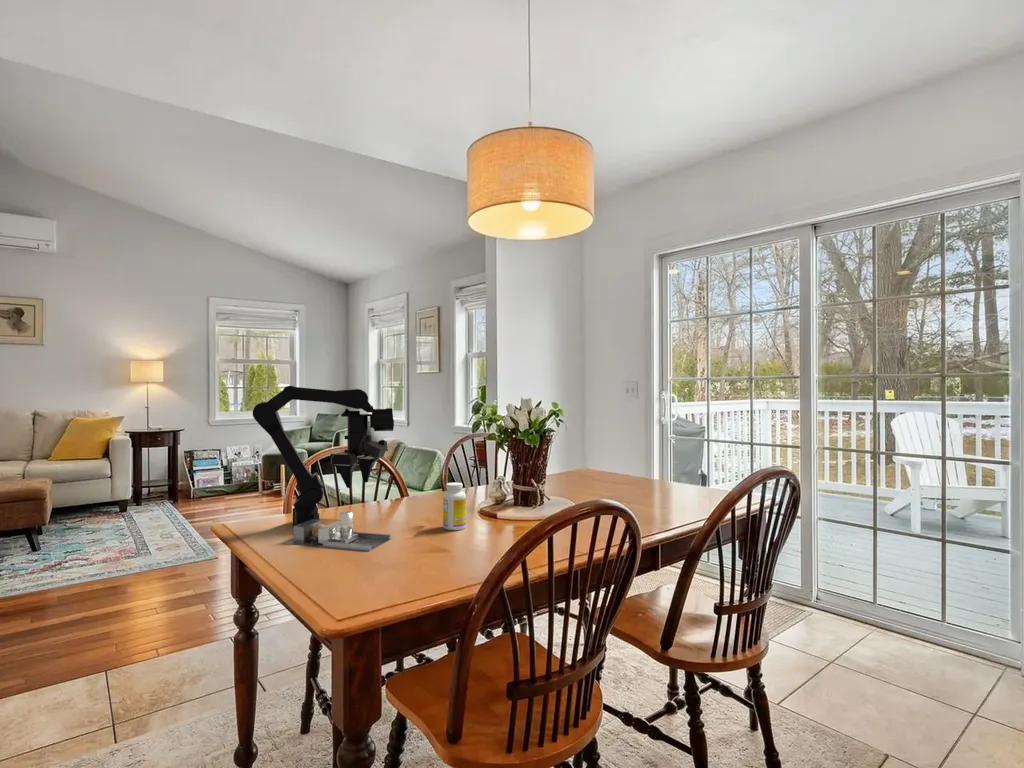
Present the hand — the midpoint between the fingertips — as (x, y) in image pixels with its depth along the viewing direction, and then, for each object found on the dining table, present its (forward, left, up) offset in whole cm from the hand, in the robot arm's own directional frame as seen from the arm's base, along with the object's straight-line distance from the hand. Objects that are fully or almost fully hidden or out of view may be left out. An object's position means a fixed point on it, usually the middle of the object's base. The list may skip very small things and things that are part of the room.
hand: (357, 485), depth 168 cm
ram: (+7, -20, -10) cm, 23 cm away
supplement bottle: (+28, +6, -12) cm, 31 cm away
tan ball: (+2, -20, -10) cm, 23 cm away
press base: (+7, -20, -12) cm, 24 cm away
